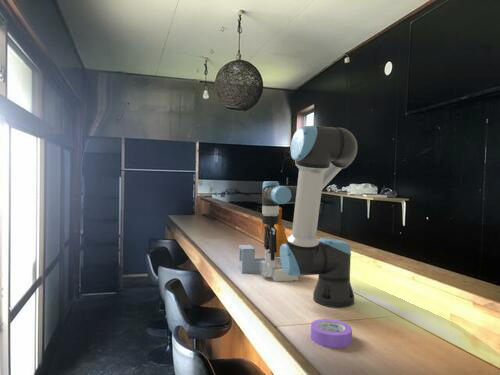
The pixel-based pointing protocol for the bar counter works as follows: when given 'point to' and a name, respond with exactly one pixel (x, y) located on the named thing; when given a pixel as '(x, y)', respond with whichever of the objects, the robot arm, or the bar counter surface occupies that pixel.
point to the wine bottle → (280, 234)
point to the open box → (249, 259)
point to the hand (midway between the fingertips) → (269, 265)
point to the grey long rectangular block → (265, 267)
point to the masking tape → (331, 333)
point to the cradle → (282, 276)
